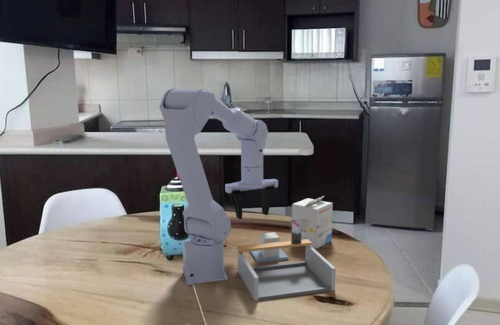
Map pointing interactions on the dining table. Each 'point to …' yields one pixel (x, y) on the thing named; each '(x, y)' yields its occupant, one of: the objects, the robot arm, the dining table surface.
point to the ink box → (313, 220)
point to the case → (288, 277)
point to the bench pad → (261, 259)
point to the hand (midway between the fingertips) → (252, 216)
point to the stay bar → (277, 244)
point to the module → (269, 239)
